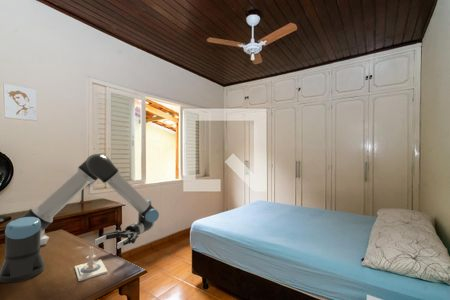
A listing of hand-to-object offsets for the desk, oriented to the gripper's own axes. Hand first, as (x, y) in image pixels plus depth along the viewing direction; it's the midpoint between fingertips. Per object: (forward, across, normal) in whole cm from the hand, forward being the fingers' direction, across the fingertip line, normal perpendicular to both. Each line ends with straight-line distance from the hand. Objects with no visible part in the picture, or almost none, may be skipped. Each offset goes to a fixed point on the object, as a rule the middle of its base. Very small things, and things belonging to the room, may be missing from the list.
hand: (106, 244), depth 112 cm
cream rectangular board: (+9, 0, -8) cm, 12 cm away
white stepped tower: (+9, 0, -8) cm, 12 cm away
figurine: (-5, +51, -9) cm, 52 cm away
